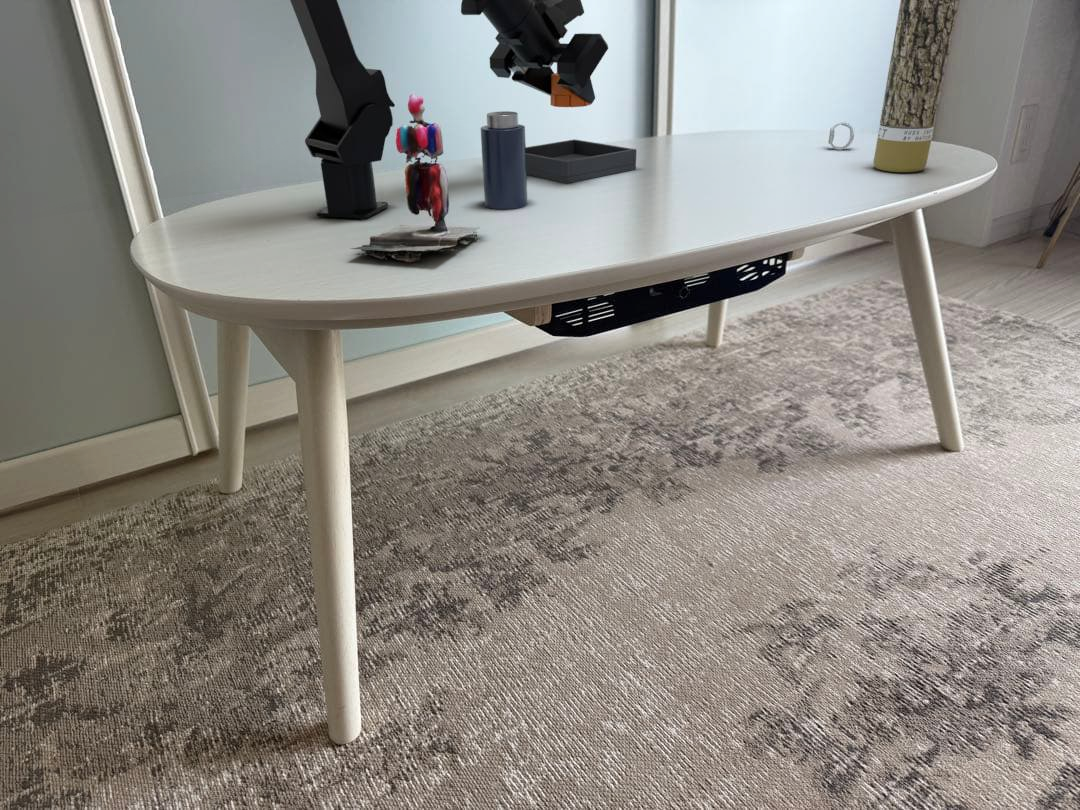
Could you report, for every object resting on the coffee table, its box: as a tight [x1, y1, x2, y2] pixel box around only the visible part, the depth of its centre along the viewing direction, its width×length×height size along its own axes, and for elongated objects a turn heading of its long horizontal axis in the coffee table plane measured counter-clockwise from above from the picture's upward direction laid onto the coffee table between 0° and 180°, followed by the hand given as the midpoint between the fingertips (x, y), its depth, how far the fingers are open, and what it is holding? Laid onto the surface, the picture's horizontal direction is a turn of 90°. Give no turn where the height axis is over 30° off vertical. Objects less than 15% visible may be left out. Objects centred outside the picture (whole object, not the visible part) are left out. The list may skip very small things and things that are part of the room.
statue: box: [350, 94, 481, 263], centre depth 76 cm, size 11×9×15 cm
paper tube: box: [873, 0, 960, 174], centre depth 102 cm, size 7×7×25 cm
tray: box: [526, 139, 637, 184], centre depth 113 cm, size 13×13×3 cm
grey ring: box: [828, 121, 855, 151], centre depth 122 cm, size 4×2×4 cm, turn 70°
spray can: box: [480, 110, 528, 210], centre depth 93 cm, size 5×5×10 cm
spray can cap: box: [550, 72, 592, 108], centre depth 108 cm, size 5×5×4 cm
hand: (578, 99), depth 110 cm, fingers closed on spray can cap, 5 cm apart
